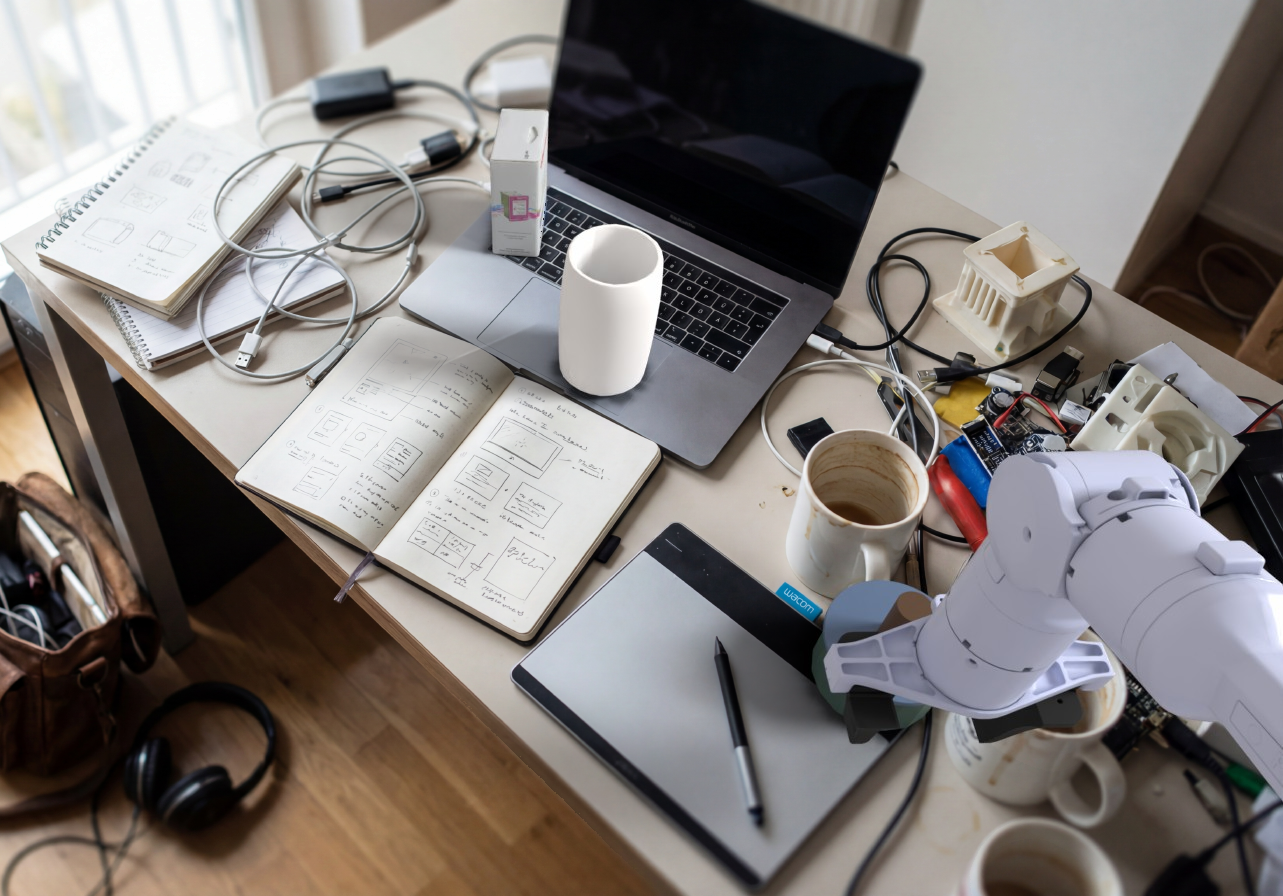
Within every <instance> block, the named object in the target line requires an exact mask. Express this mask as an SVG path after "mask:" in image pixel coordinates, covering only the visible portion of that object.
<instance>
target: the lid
mask: <svg viewBox="0 0 1283 896" xmlns="http://www.w3.org/2000/svg"><path fill="white" fill-rule="evenodd" d="M933 599H934V598H932V597H930V596H929V595H928V594H926V593H924V592H923V591H921V590H919V589H917V588H915V587H913V586H910V585H907V584H905V583H901V582H897V581H892V580H886V579H885V580H884V579H873V580H872V579H871V580H866V581H861V582H858V583H854V584H852V585H850V586H848V587H846V588H845V589H843V590H841V592H839V593H838V594H837V595H836V596H835V597H834V598H833V600H832V601H831V603H830V604H829V606H828V608H827V610H826V612H825V615H824V619H823V624H822V632H823V637H824V643H825V646H826V649H827V652H828V651H829V649H830V647H831V646H832V644H837V642H838V641H839V639H840V637H841V636H842V635H843V634H845V633H847V632H873V631H878V632H879V634H880V633H882V632H885V631H888V630H891V629H893V628H896V627H899V626H901V625H904V624H907V623H910V622H912V621H915V620H918V619H920V618H923V617H926V616H929V615H931V614H932V609H931V602H932V600H933ZM893 702H894V705H900V706H918V705H924V704H923V703H920V702H917V701H913V700H910V699H907V698H904V697H900V696H897V695H895V697H894V698H893Z"/></svg>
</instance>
